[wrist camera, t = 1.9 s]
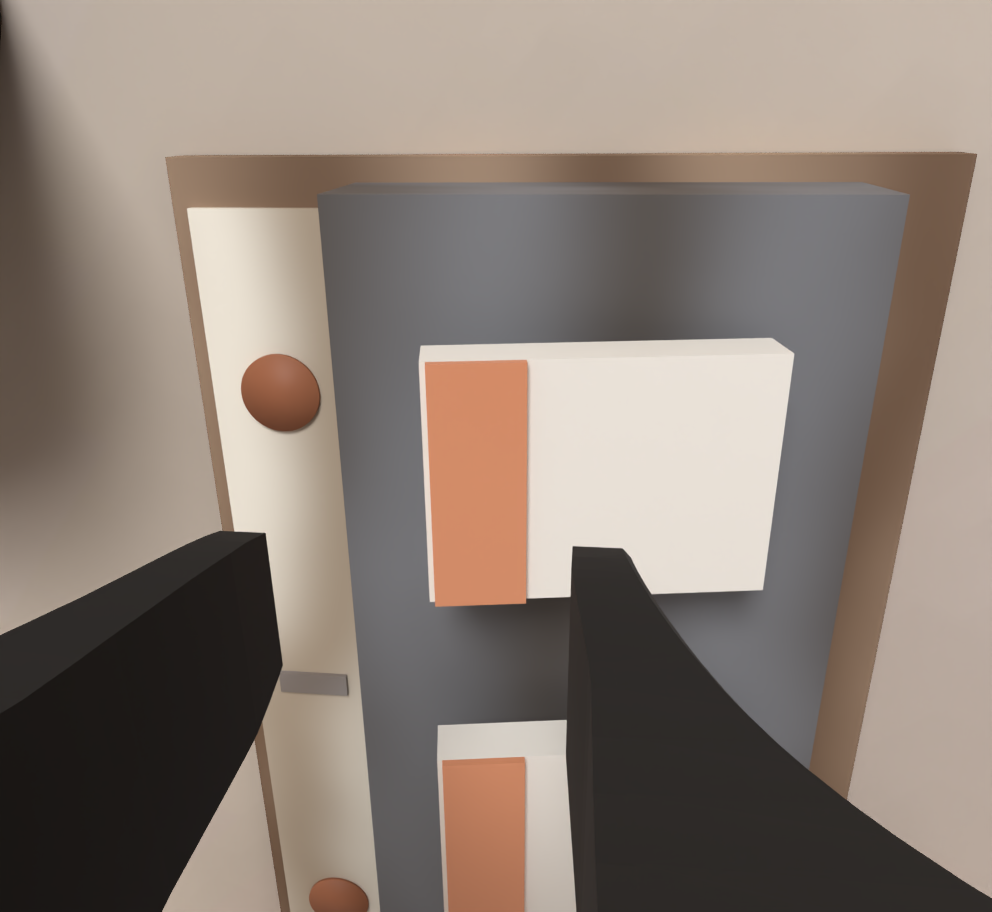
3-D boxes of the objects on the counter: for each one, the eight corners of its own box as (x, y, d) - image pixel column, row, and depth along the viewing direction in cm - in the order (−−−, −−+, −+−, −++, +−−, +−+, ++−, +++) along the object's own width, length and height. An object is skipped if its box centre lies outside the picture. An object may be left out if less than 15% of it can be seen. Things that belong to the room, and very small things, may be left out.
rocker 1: (718, 697, 18) (744, 753, 16) (701, 849, 19) (722, 912, 18) (438, 708, 17) (436, 766, 16) (444, 862, 19) (444, 927, 18)
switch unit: (960, 151, 16) (1047, 161, 13) (790, 1022, 26) (817, 1145, 23) (182, 155, 18) (96, 164, 15) (302, 974, 28) (265, 1083, 25)
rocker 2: (762, 330, 15) (797, 356, 13) (736, 549, 16) (765, 594, 15) (421, 337, 14) (418, 365, 13) (431, 560, 16) (429, 606, 15)
